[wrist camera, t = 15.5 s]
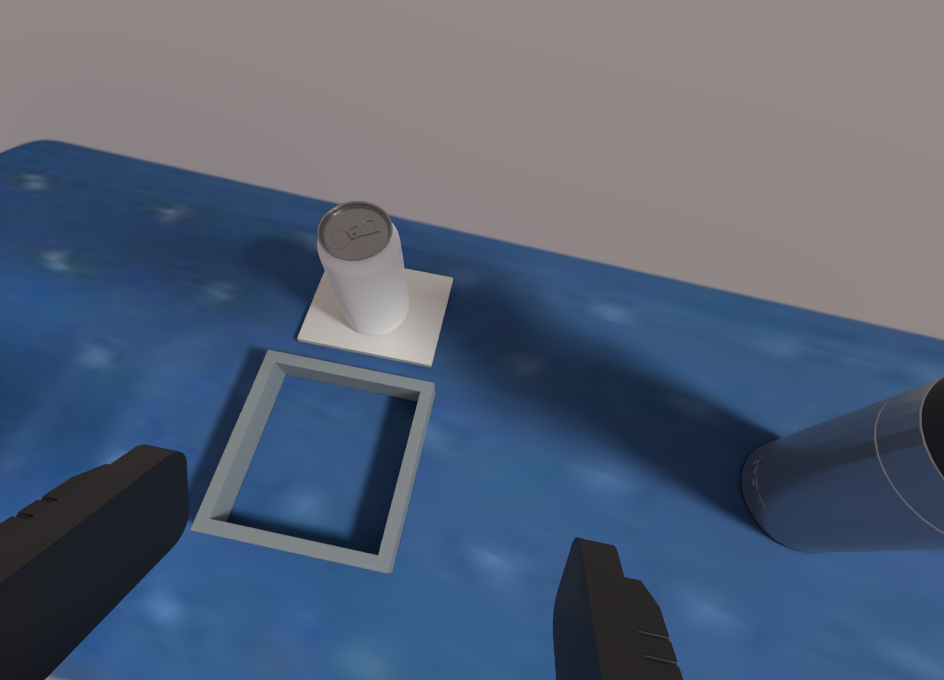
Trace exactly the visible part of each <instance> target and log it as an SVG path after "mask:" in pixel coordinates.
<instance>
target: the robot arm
mask: <svg viewBox="0 0 944 680" xmlns="http://www.w3.org/2000/svg"><path fill="white" fill-rule="evenodd" d="M742 489H743V495H744V498H745V501H746V504H747V507H748V509H749V510H750V512H751V514H752V516H753V517H754V519H755V520H756V521H757V523H758V524H759V525H760V526H761V528H762V529H763V530H764V531H765V532H766V533H767V534H769V535H770V536H771V537H772V538H773V539H775V540H776V541H778V542H779V543H781V544H782V545H784V546H786V547H789V548H791V549H794V550H796V551H801V552H806V553H820V552H873V551H910V550H944V377H943V378H941V379H938V380H935V381H933V382H930V383H927V384H925V385H922V386H919V387H917V388H914V389H911V390H909V391H906V392H903V393H901V394H898V395H896V396H893V397H891V398H888V399H885V400H882V401H880V402H877V403H874V404H872V405H869V406H866V407H864V408H861V409H858V410H855V411H853V412H850V413H847V414H845V415H842V416H839V417H837V418H834V419H831V420H829V421H826V422H823V423H820V424H818V425H815V426H812V427H810V428H807V429H804V430H802V431H799V432H796V433H793V434H790V435H788V436H785V437H782V438H780V439H777V440H774V441H772V442H769V443H766V444H764V445H762V446H760V447H758V448H756V449H755V450H754V451H753V452H752V453H751V454H750V455H749V457H748V459H747V460H746V462H745V464H744V468H743V471H742ZM188 516H189V505H188V481H187V461H186V457H185V455H184V454H183V453H181V452H178V451H174V450H169V449H164V448H160V447H155V446H150V445H139V446H137V447H135V448H133V449H132V450H130V451H129V452H128V453H126V454H125V455H123V456H122V457H120V458H119V459H117V460H116V461H114V462H113V463H111V464H110V465H108V464H104V465H102V466H99V467H97V468H94V469H92V470H89V471H87V472H84V473H82V474H79V475H77V476H74V477H72V478H70V479H69V480H67V481H65V482H64V483H62V484H61V485H59V486H58V487H56V488H55V489H53V490H52V491H50V492H48V493H47V494H45V495H44V496H43V498H42V499H41V500H40V501H39V500H36V501H35V502H33V503H32V504H30V505H28V506H27V507H25V508H24V509H22V510H21V511H19V512H18V515H17V516H16V517H12V516H11V517H10V518H8V519H7V520H5V521H4V522H2V523H1V524H0V680H45V679H46V678H47V677H48V676H49V675H50V674H51V673H52V672H53V671H54V670H55V669H56V668H57V667H58V666H59V665H60V663H61V662H62V661H63V660H64V659H65V658H66V657H67V656H68V655H69V654H70V653H71V652H72V651H73V650H74V649H75V648H76V647H77V646H78V645H79V644H80V643H81V642H82V641H83V640H84V639H85V638H86V637H87V636H88V634H89V633H90V632H91V631H92V630H93V629H94V628H95V627H96V626H97V625H98V624H99V623H100V622H101V621H102V620H103V619H104V618H105V617H106V616H107V615H108V614H109V613H110V612H111V611H112V610H113V609H114V608H115V607H116V606H117V604H118V603H119V602H120V601H121V600H122V599H123V598H124V597H125V596H126V595H127V594H128V593H129V592H130V591H131V590H132V589H133V588H134V587H135V586H136V585H137V584H138V583H139V582H140V581H141V580H142V579H143V578H144V577H145V575H146V574H147V573H148V572H149V571H150V570H151V569H152V568H153V567H154V566H155V565H156V564H157V563H158V562H159V561H160V560H161V559H162V558H163V557H164V556H165V555H166V554H167V553H168V552H169V551H170V550H171V549H172V548H173V546H174V545H175V544H176V543H177V542H178V540H179V539H180V537H181V535H182V533H183V532H184V529H185V527H186V524H187V521H188ZM668 638H669V635H668V632H667V628H666V625H665V622H664V619H663V616H662V613H661V610H660V607H659V606H658V604H657V603H656V601H655V600H654V599H653V597H652V596H651V594H650V593H649V592H648V590H647V589H646V587H645V586H644V585H643V583H642V582H641V581H640V580H635V579H631V578H626V577H624V574H623V570H622V567H621V563H620V559H619V555H618V552H617V549H616V547H615V546H613V545H609V544H604V543H600V542H595V541H590V540H586V539H581V538H575V539H574V541H573V543H572V546H571V549H570V552H569V556H568V559H567V562H566V565H565V569H564V572H563V575H562V578H561V582H560V585H559V588H558V592H557V595H556V599H555V605H554V613H553V640H554V655H555V669H556V680H683V678H682V675H681V672H680V668H679V667H677V659H676V656H675V653H674V650H673V647H672V644H671V642H670V641H669V639H668Z"/></svg>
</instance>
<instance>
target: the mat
mask: <svg viewBox="0 0 944 680" xmlns="http://www.w3.org/2000/svg"><path fill="white" fill-rule="evenodd" d="M404 269H405V268H404ZM405 275H406V282H407V289H408V296H409V311H408V314H407V316H406V318H405V320H404V321H403V322H402V324H401V325H400V326H398V327H397V328H396V329H394V330H393V331H391V332H388V333H385V334H381V335H367V334H363V333H361V332H358V331H357V330H355V329H354V328H352V327H351V326H350V324H349V323H348V322H347V320H346V319H345V317H344V315H343V312H342V310H341V308H340V306H339V303H338V301H337V299H336V296H335V294H334V291H333V289H332V287H331V284H330V282H329V280H328V277H327V275H326V272H325V271H324V274H323V276H322V279H321V281H320V283H319V286H318V288H317V291H316V293H315V296H314V298H313V301H312V303H311V306H310V308H309V311H308V313H307V316H306V318H305V321H304V323H303V325H302V328H301V330H300V333H299V335H298V338H297V339H298V341H299V342H304V343H309V344H314V345H319V346H324V347H329V348H334V349H339V350H344V351H349V352H354V353H359V354H364V355H369V356H374V357H379V358H384V359H389V360H394V361H399V362H404V363H409V364H414V365H419V366H424V367H429V368H431V366H432V362H433V358H434V354H435V350H436V346H437V342H438V339H439V335H440V331H441V327H442V323H443V319H444V315H445V311H446V307H447V303H448V299H449V295H450V291H451V287H452V283H453V278H452V277H447V276H441V275H436V274H431V273H426V272H420V271H415V270H410V269H405Z"/></svg>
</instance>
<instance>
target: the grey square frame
mask: <svg viewBox="0 0 944 680" xmlns="http://www.w3.org/2000/svg"><path fill="white" fill-rule="evenodd" d="M285 375H290V376H295V377H299V378H304V379H309V380H314V381H319V382H324V383H329V384H334V385H339V386H344V387H349V388H354V389H359V390H363V391H368V392H373V393H378V394H383V395H388V396H393V397H398V398H403V399H408V400H413V401H418V403H417V407H416V411H415V415H414V419H413V422H412V426H411V430H410V434H409V438H408V442H407V446H406V450H405V453H404V457H403V461H402V465H401V469H400V473H399V477H398V481H397V484H396V488H395V492H394V496H393V500H392V504H391V508H390V511H389V515H388V519H387V523H386V527H385V531H384V535H383V539H382V542H381V546H380V550H379V554H378V555H376V554H371V553H367V552H362V551H358V550H353V549H348V548H344V547H339V546H335V545H330V544H325V543H321V542H316V541H312V540H307V539H303V538H298V537H293V536H289V535H284V534H280V533H275V532H271V531H266V530H261V529H257V528H252V527H248V526H243V525H239V524H234V523H229V522H227V519H228V517H229V514H230V512H231V509H232V507H233V504H234V502H235V499H236V497H237V494H238V492H239V489H240V487H241V485H242V482H243V480H244V477H245V475H246V472H247V470H248V467H249V465H250V462H251V460H252V457H253V455H254V452H255V450H256V447H257V445H258V442H259V440H260V437H261V435H262V432H263V430H264V427H265V425H266V422H267V420H268V417H269V415H270V412H271V410H272V407H273V405H274V402H275V400H276V397H277V395H278V392H279V390H280V387H281V385H282V382H283V380H284V377H285ZM434 398H435V383H432V382H427V381H422V380H417V379H412V378H407V377H402V376H397V375H392V374H387V373H382V372H377V371H372V370H367V369H362V368H357V367H352V366H347V365H342V364H337V363H332V362H327V361H322V360H317V359H312V358H307V357H302V356H297V355H292V354H287V353H282V352H277V351H272V350H268V351H267V353H266V356H265V358H264V360H263V362H262V365H261V367H260V369H259V372H258V374H257V376H256V379H255V381H254V383H253V386H252V388H251V390H250V393H249V395H248V397H247V400H246V402H245V404H244V407H243V409H242V411H241V414H240V416H239V418H238V421H237V423H236V425H235V427H234V430H233V432H232V434H231V437H230V439H229V441H228V444H227V446H226V448H225V451H224V453H223V455H222V458H221V460H220V462H219V465H218V467H217V469H216V472H215V474H214V476H213V479H212V481H211V483H210V485H209V488H208V490H207V492H206V495H205V497H204V499H203V502H202V504H201V506H200V509H199V511H198V513H197V516H196V518H195V520H194V523H193V525H192V527H191V530H193V531H197V532H202V533H206V534H211V535H215V536H220V537H224V538H229V539H233V540H238V541H243V542H247V543H252V544H256V545H261V546H265V547H270V548H274V549H279V550H283V551H288V552H292V553H297V554H302V555H306V556H311V557H315V558H320V559H324V560H329V561H333V562H338V563H342V564H347V565H352V566H356V567H361V568H365V569H370V570H374V571H379V572H383V573H392V571H393V567H394V563H395V559H396V555H397V551H398V546H399V542H400V538H401V534H402V530H403V526H404V522H405V518H406V514H407V509H408V505H409V501H410V497H411V493H412V489H413V485H414V481H415V476H416V472H417V468H418V464H419V460H420V456H421V452H422V448H423V443H424V439H425V435H426V431H427V427H428V423H429V419H430V415H431V411H432V406H433V402H434Z"/></svg>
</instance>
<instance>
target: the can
mask: <svg viewBox="0 0 944 680" xmlns="http://www.w3.org/2000/svg"><path fill="white" fill-rule="evenodd" d="M317 236H318V242H317V249H318V254H319V257H320V260H321V263H322V265H323V268H324V270H325V272H326V275H327V277H328V280H329V282H330V284H331V287H332V289H333V291H334V294H335V296H336V299H337V301H338V303H339V306H340V308H341V310H342V312H343V315H344V317H345V319H346V320H347V322H348V323H349V324H350V326H351V327H352V328H354V329H355V330H357V331H358V332H361V333H363V334H367V335H381V334H385V333H388V332H391V331H393V330H394V329H396V328H397V327H398V326H400V325H401V324H402V322H403V321H404V320H405V318H406V316H407V314H408V311H409V296H408V289H407V282H406V275H405V269H404V262H403V256H402V249H401V243H400V238H399V234H398V231H397V229H396V227H395V226H394V225H393V223H392V222H391V219H390V217H389V216H388V214H387V213H386V212H385V211H384V210H383V209H382V208H380V207H378V206H376V205H374V204H372V203H368V202H363V201H351V202H346V203H343V204H340V205H337V206H335V207H334V208H332V209H331V210H329V211H328V212H327V213H326V214H325V215H324V216H323V218H322V219H321V221H320V223H319V225H318V230H317Z"/></svg>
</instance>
